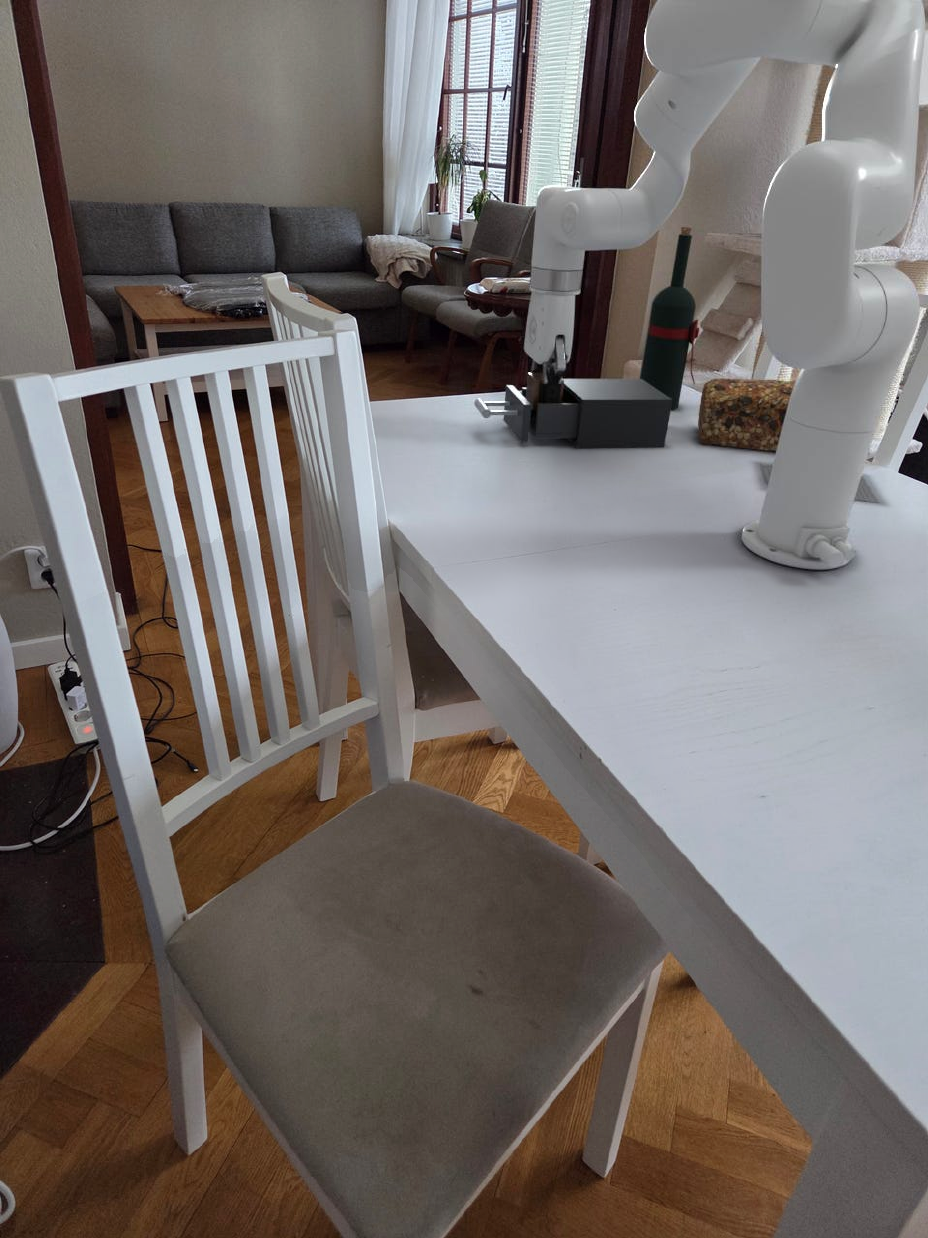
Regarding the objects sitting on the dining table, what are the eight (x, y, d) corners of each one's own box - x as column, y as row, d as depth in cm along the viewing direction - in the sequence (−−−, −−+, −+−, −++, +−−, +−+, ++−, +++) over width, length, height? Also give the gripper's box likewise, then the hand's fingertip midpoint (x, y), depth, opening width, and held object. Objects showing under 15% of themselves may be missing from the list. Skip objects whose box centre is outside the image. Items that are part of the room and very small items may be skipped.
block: (561, 409, 129) (564, 379, 126) (532, 409, 128) (535, 379, 126) (552, 401, 133) (555, 372, 130) (525, 401, 132) (527, 372, 129)
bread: (807, 438, 139) (823, 379, 134) (816, 458, 130) (834, 395, 125) (694, 426, 142) (706, 367, 137) (695, 444, 133) (708, 382, 128)
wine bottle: (688, 414, 148) (723, 231, 133) (632, 407, 151) (660, 226, 136) (692, 404, 155) (726, 228, 140) (638, 397, 157) (665, 223, 142)
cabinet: (576, 448, 128) (582, 399, 124) (553, 424, 139) (558, 378, 135) (664, 447, 131) (672, 399, 127) (634, 423, 142) (642, 378, 138)
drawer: (484, 442, 125) (487, 404, 123) (469, 420, 135) (471, 384, 132) (603, 441, 129) (608, 404, 126) (580, 419, 139) (585, 385, 136)
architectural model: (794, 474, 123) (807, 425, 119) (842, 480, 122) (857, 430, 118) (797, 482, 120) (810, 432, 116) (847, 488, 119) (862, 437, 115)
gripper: (516, 272, 127) (507, 390, 137) (547, 289, 113) (534, 420, 122) (562, 273, 129) (550, 390, 138) (598, 290, 115) (582, 420, 124)
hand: (543, 403), depth 130 cm, fingers closed on block, 4 cm apart
